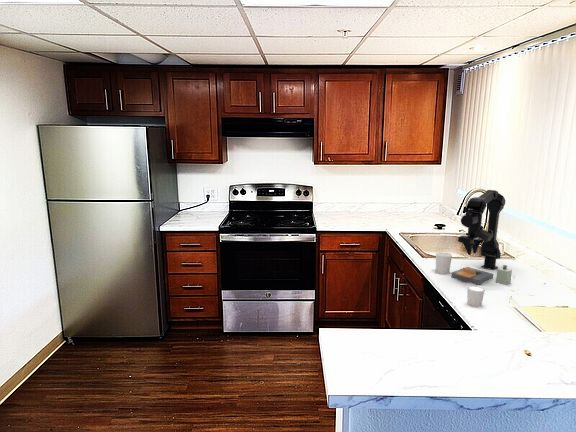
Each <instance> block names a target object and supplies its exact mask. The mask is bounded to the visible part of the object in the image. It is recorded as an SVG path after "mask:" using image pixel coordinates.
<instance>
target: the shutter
mask: <svg viewBox="0 0 576 432" xmlns="http://www.w3.org/2000/svg"><path fill="white" fill-rule="evenodd" d="M462 269H463V270H462V271H461V272H458V273H456V274H457V275H460V276H463V277H467V278H471V277H474V276H476V271H475V270H471V269H468V268H465V267H462Z"/></svg>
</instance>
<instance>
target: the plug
mask: <svg viewBox="0 0 576 432" xmlns="http://www.w3.org/2000/svg"><path fill="white" fill-rule="evenodd" d="M512 273H513V269H510V268H508V264H507V265H506V264H503V265H502V267H498V268H496V276H495V277H496V278H495V283H497V284H499V285H500V284H501V285H502V286H503V285H505V286H508V285H510V284H511V282H512Z"/></svg>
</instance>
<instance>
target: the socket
mask: <svg viewBox="0 0 576 432" xmlns="http://www.w3.org/2000/svg"><path fill="white" fill-rule="evenodd" d="M464 268H468V269H471V270H475V271H476V276H474V277H471V278H467V277H463V276H460V275H457V274H456V273H458V272H461V271H462V270H463V268H460V269H457V270H454V271H452V272H451V276H450V277H451V278H453V279H457V280H460V281H463V282H467V283H470V284H474V285H475V286H479V285H482V284H484V283H486V282H489V281H491V280H494V273H491V272H489V271H484V270H480V269H476V268H474V267H470V266H466V267H464Z"/></svg>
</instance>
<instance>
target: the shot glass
mask: <svg viewBox="0 0 576 432" xmlns="http://www.w3.org/2000/svg"><path fill="white" fill-rule="evenodd" d="M466 289H467V290H466V291H467V292H466V293H467V297H466V298H467V303H466V304H468V305H469V306H472V307H477V308H478V307H482V304H483V300H484V296H485V289H484V288H483V287H481V286H478V285H469V286H467V288H466Z"/></svg>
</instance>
